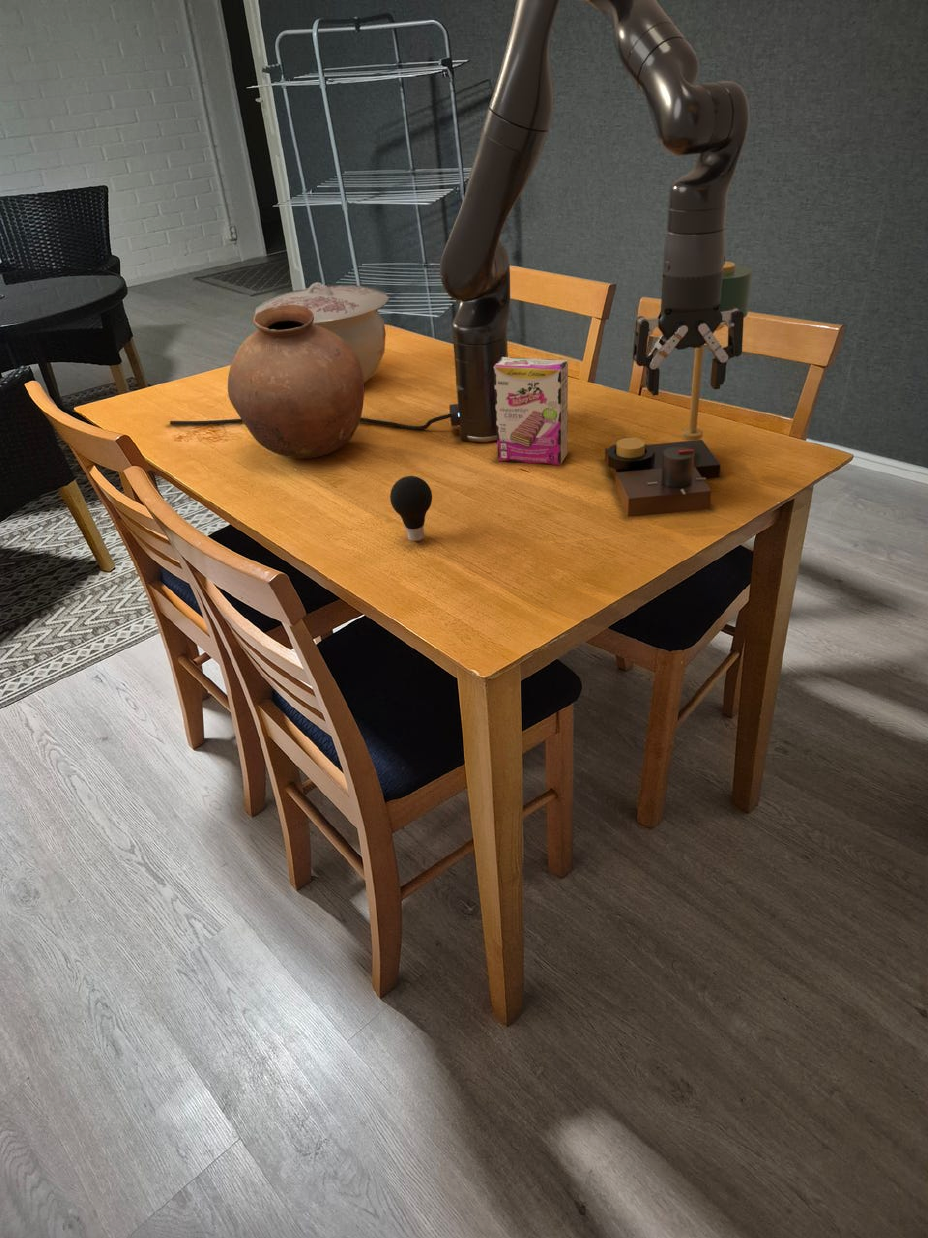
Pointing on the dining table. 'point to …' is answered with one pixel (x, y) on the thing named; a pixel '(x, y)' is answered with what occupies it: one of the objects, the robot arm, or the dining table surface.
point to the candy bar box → (531, 410)
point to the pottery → (296, 384)
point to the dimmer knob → (677, 467)
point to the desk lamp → (732, 295)
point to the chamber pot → (345, 317)
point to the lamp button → (630, 448)
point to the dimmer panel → (660, 493)
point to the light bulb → (412, 504)
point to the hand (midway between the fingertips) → (684, 390)
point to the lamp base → (654, 459)
